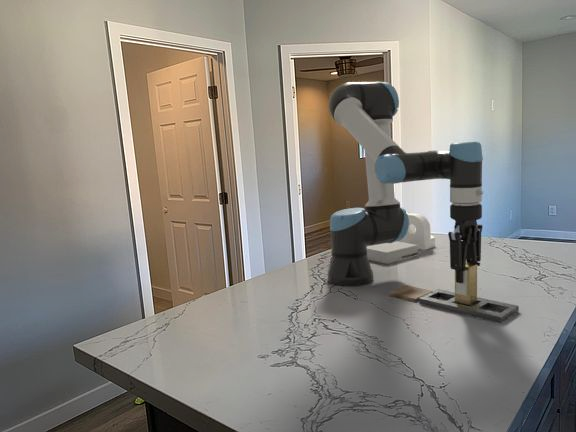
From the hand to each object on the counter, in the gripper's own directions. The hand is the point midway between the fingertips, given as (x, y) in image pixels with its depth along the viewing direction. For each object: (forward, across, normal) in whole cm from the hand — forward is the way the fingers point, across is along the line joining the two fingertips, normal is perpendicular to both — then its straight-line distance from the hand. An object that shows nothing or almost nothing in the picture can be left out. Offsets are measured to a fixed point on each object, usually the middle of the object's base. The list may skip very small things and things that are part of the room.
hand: (466, 291), depth 115 cm
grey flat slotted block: (+4, 0, 0) cm, 4 cm away
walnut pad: (+4, 0, +17) cm, 17 cm away
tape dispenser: (+5, +57, +53) cm, 78 cm away
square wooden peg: (+3, 0, 0) cm, 3 cm away
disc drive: (+5, +34, +53) cm, 63 cm away
